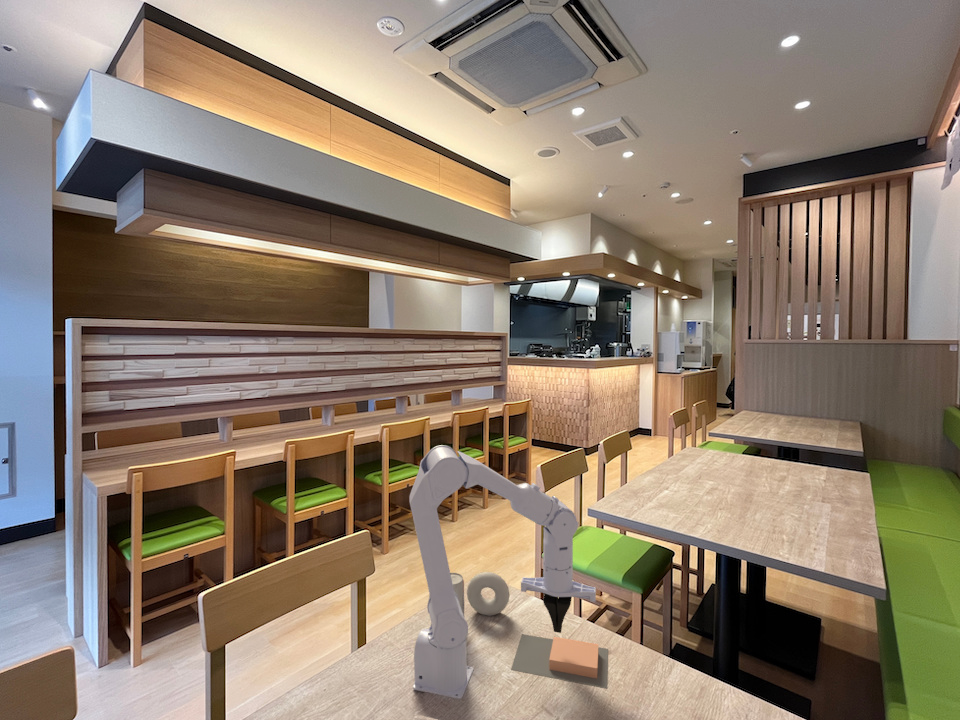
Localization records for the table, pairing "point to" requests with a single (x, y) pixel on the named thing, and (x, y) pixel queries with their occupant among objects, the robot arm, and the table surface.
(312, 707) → the table surface
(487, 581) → the donut
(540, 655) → the mat
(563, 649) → the tile
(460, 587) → the energy drink
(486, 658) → the table surface
